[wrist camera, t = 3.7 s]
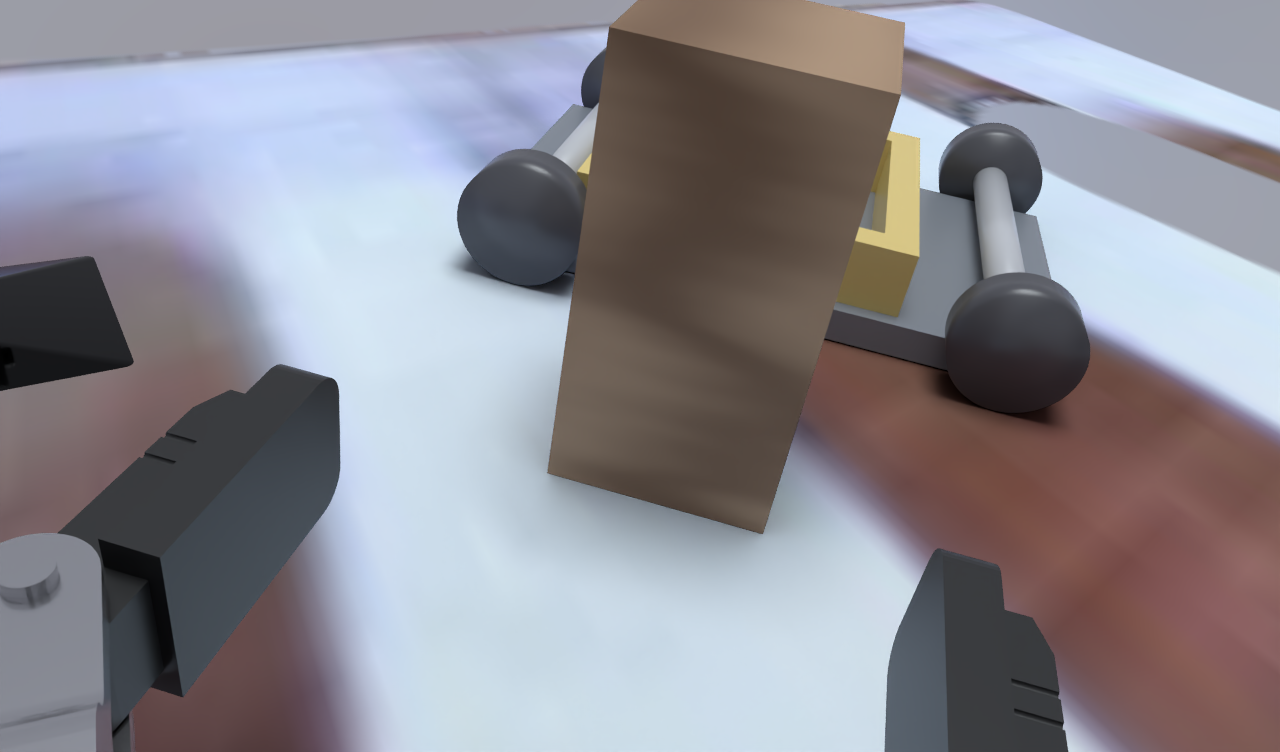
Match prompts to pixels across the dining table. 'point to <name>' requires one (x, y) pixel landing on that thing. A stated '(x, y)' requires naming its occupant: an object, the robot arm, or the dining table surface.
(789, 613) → the dining table surface
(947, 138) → the dining table surface
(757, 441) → the brown wooden block
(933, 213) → the chassis
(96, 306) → the black angular machine part
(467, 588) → the dining table surface
